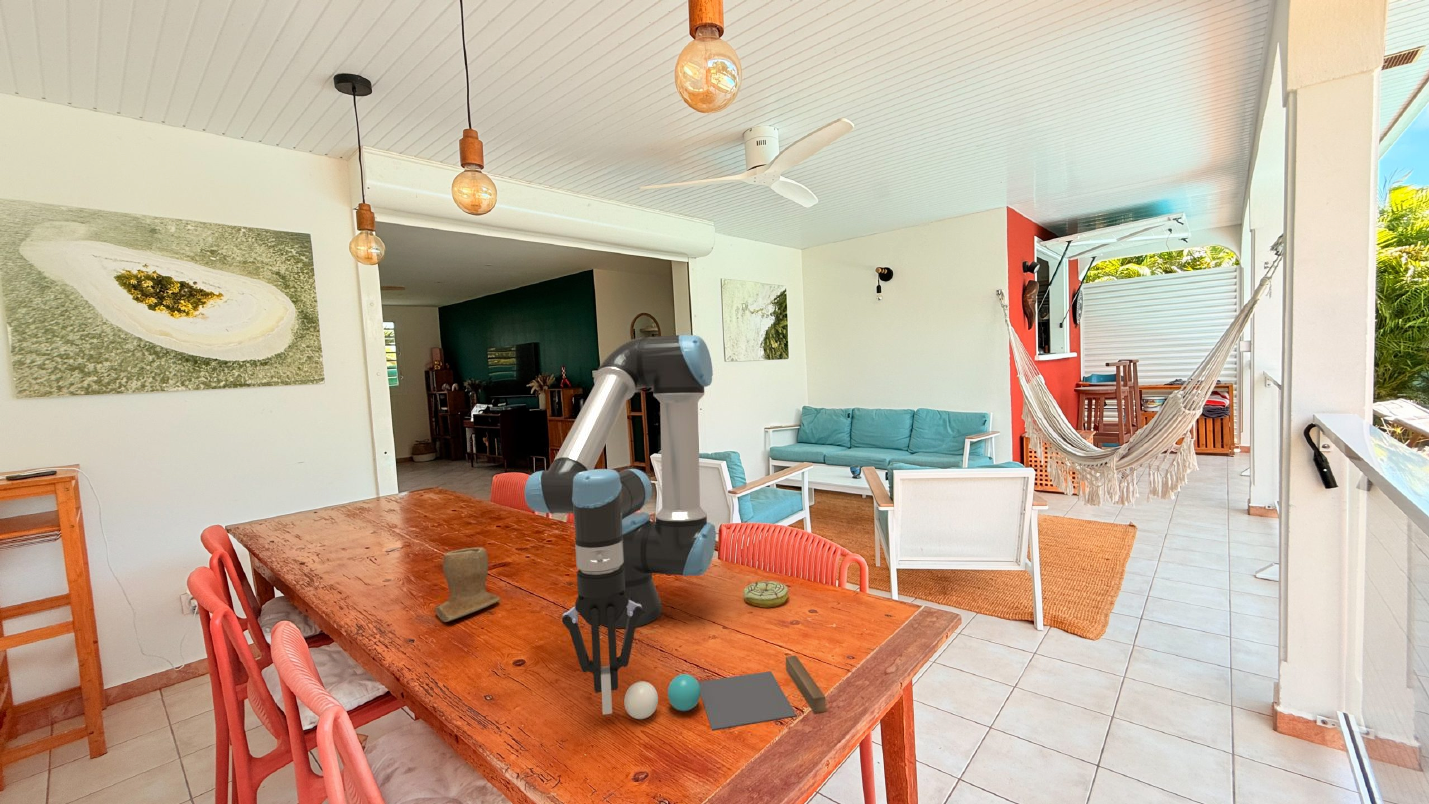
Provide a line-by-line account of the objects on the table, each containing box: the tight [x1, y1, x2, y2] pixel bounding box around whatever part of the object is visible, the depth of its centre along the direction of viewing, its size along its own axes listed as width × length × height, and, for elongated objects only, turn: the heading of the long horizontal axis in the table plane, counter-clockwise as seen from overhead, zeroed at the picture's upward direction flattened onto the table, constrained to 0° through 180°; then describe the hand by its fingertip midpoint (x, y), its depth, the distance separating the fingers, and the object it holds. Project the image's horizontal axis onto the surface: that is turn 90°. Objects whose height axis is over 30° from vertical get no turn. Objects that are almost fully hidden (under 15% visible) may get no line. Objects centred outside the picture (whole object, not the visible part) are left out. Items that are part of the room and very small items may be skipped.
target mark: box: [698, 670, 798, 731], centre depth 97 cm, size 14×14×1 cm
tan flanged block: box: [434, 547, 501, 623], centre depth 138 cm, size 15×12×15 cm
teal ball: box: [667, 673, 701, 712], centre depth 95 cm, size 6×6×6 cm
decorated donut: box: [743, 580, 789, 609], centre depth 138 cm, size 10×11×4 cm
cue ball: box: [623, 680, 659, 720], centre depth 93 cm, size 6×6×6 cm
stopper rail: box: [785, 654, 827, 714], centre depth 99 cm, size 2×14×2 cm, turn 12°
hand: (607, 708), depth 92 cm, fingers closed
